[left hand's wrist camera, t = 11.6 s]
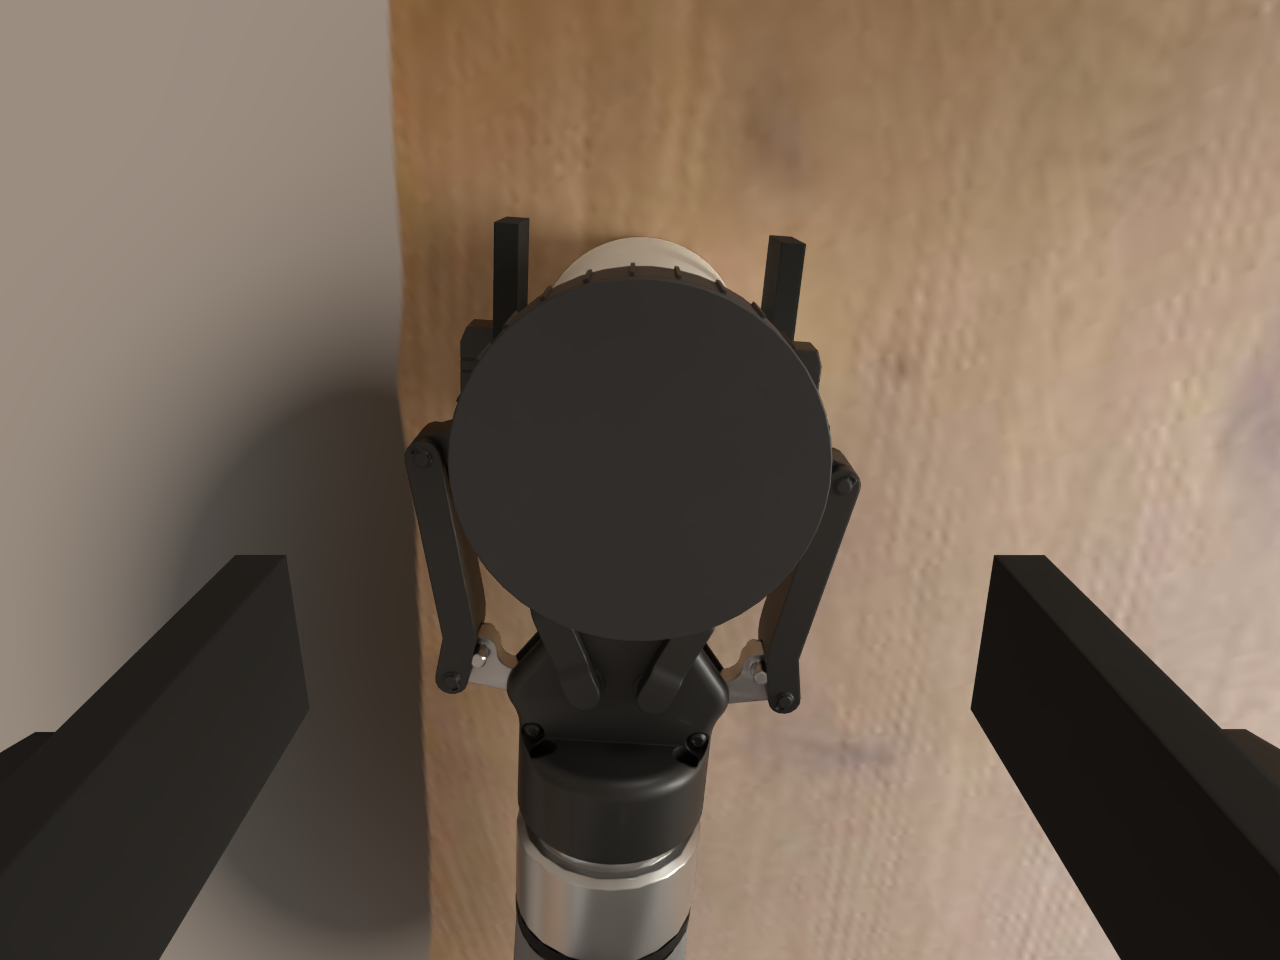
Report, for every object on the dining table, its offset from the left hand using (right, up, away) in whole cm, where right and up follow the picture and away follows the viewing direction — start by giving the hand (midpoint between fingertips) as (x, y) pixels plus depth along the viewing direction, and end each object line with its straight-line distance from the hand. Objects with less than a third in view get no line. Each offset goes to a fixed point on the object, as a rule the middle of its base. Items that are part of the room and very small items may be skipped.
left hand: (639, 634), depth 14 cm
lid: (0, +3, +7) cm, 8 cm away
